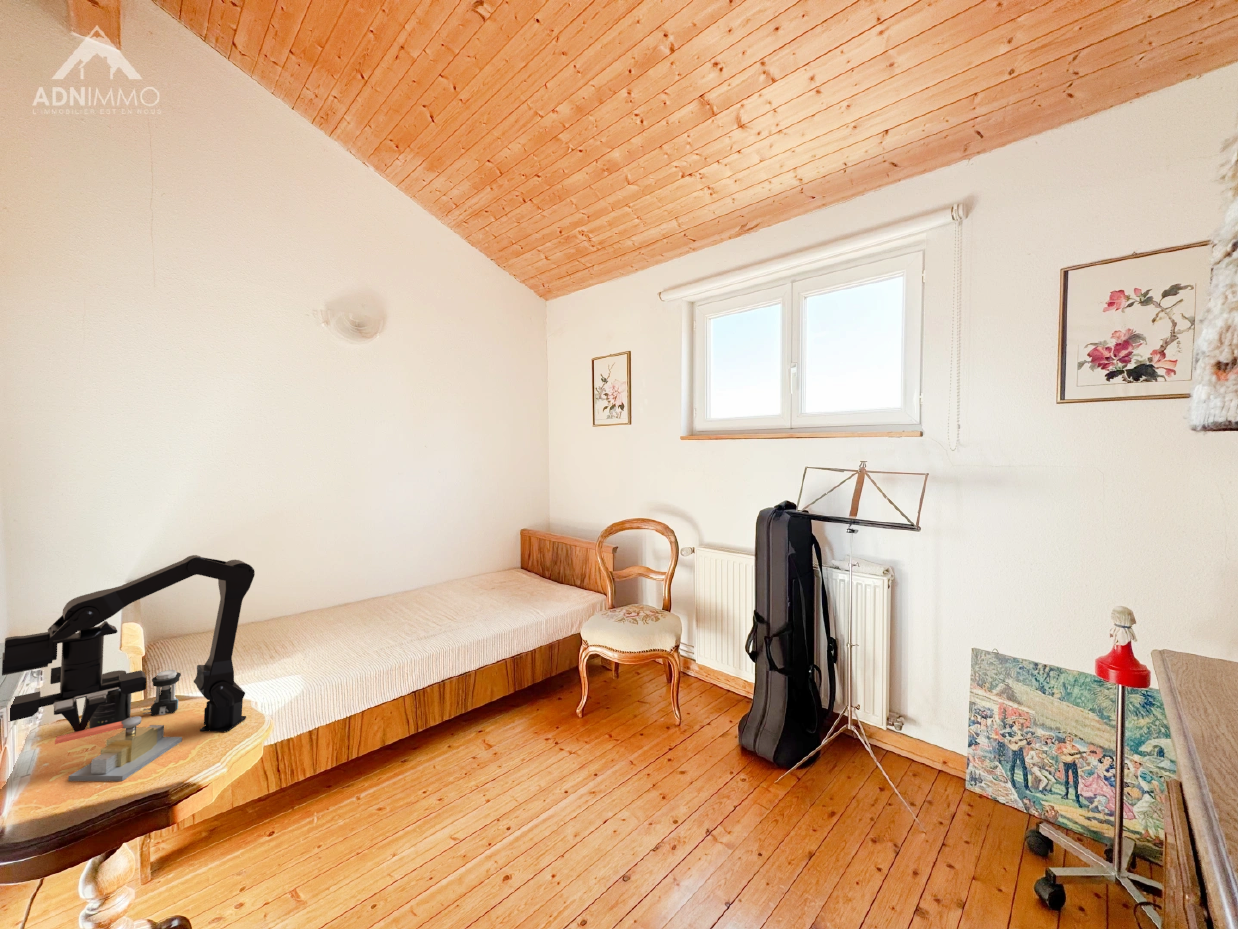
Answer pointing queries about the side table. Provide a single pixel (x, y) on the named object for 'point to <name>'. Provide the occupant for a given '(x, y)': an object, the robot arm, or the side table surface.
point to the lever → (99, 729)
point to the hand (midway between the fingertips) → (79, 735)
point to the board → (129, 767)
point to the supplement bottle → (112, 704)
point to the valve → (126, 747)
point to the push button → (165, 693)
